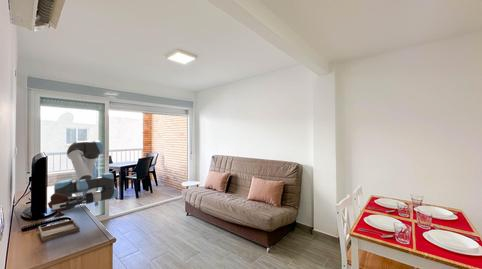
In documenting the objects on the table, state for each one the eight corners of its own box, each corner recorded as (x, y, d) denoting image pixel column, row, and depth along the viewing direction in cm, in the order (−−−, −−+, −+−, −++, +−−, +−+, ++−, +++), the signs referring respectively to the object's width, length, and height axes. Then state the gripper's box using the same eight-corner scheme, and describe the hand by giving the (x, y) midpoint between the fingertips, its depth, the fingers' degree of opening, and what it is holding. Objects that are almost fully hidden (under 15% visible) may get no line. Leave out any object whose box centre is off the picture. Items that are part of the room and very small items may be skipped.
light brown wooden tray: (39, 232, 134) (38, 227, 134) (73, 223, 148) (73, 219, 148) (42, 242, 123) (42, 237, 123) (79, 231, 136) (79, 226, 136)
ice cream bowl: (57, 220, 129) (57, 195, 129) (43, 218, 131) (42, 194, 131) (74, 213, 139) (74, 191, 139) (61, 212, 141) (60, 190, 141)
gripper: (97, 206, 141) (53, 216, 124) (88, 199, 156) (48, 206, 140) (97, 195, 141) (53, 203, 124) (88, 189, 156) (48, 195, 139)
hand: (50, 205), depth 132 cm, fingers closed on ice cream bowl, 11 cm apart
